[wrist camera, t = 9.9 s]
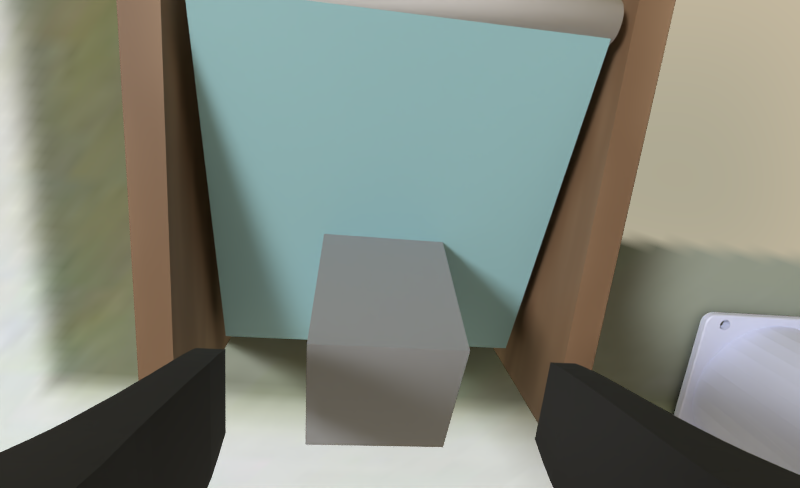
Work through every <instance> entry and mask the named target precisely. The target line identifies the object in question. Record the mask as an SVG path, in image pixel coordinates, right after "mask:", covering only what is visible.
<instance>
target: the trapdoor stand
mask: <svg viewBox="0 0 800 488" xmlns="http://www.w3.org/2000/svg"><path fill="white" fill-rule="evenodd" d="M675 1H676V0H622V2H623V5H624V16H623V21H622V24H621V27H620V30H619V32H618V34H617V36H616V38H615V39H614V41H613V42H612V43H611V44H610V45H609V46H608V49H607V52H606V55H605V58H604V61H603V64H602V67H601V70H600V73H599V76H598V79H597V81H596V84H595V87H594V90H593V93H592V96H591V99H590V102H589V105H588V108H587V111H586V114H585V117H584V120H583V123H582V126H581V128H580V131H579V134H578V137H577V140H576V143H575V146H574V149H573V152H572V155H571V158H570V161H569V164H568V167H567V170H566V173H565V175H564V178H563V181H562V184H561V187H560V190H559V193H558V196H557V199H556V202H555V205H554V208H553V211H552V214H551V217H550V220H549V223H548V225H547V228H546V231H545V234H544V237H543V240H542V243H541V246H540V249H539V252H538V255H537V258H536V261H535V264H534V267H533V270H532V272H531V275H530V278H529V281H528V284H527V287H526V290H525V293H524V296H523V299H522V302H521V305H520V308H519V311H518V314H517V317H516V320H515V322H514V325H513V328H512V331H511V334H510V337H509V340H508V343H507V346H506V348H493V349H494V350H495V352H496V354H497V355H498V357H499V359H500V360H501V362H502V364H503V365H504V367H505V369H506V370H507V372H508V374H509V375H510V377H511V379H512V380H513V382H514V384H515V385H516V387H517V389H518V390H519V392H520V394H521V395H522V397H523V399H524V400H525V402H526V404H527V406H528V407H529V409H530V411H531V412H532V414H533V416H534V417H535V419H536V421H537V422H539V417H540V412H541V407H542V402H543V397H544V392H545V387H546V382H547V377H548V372H549V367H550V362H552V363H576V364H578V365H581V366H583V367H586V368H588V369H590V370H592V368H593V363H594V359H595V354H596V350H597V346H598V341H599V337H600V332H601V328H602V324H603V319H604V315H605V310H606V306H607V301H608V297H609V293H610V288H611V284H612V279H613V275H614V271H615V266H616V262H617V257H618V253H619V248H620V244H621V240H622V235H623V231H624V226H625V222H626V218H627V213H628V208H629V204H630V200H631V195H632V191H633V187H634V182H635V178H636V173H637V169H638V165H639V160H640V156H641V151H642V147H643V142H644V138H645V133H646V129H647V125H648V120H649V116H650V111H651V107H652V103H653V98H654V94H655V89H656V85H657V81H658V76H659V72H660V67H661V63H662V58H663V54H664V50H665V45H666V40H667V36H668V32H669V28H670V23H671V19H672V14H673V10H674V6H675ZM117 17H118V34H119V51H120V69H121V86H122V103H123V120H124V137H125V154H126V171H127V189H128V206H129V223H130V240H131V257H132V274H133V292H134V309H135V326H136V343H137V360H138V377H139V380H141V379H143V378H144V377H146V376H148V375H149V374H151V373H153V372H154V371H156V370H158V369H159V368H161V367H163V366H164V365H166V364H168V363H169V362H171V361H173V360H174V359H176V358H178V357H179V356H181V355H183V354H185V353H186V352H188V351H190V350H192V349H194V348H207V349H224V348H225V347H226V345H227V343H228V342H229V340H230V338H231V336H226V333H225V325H224V316H223V308H222V300H221V292H220V283H219V275H218V267H217V258H216V250H215V242H214V233H213V225H212V217H211V208H210V200H209V192H208V183H207V175H206V167H205V159H204V150H203V142H202V134H201V125H200V117H199V109H198V100H197V92H196V84H195V75H194V67H193V59H192V51H191V42H190V34H189V26H188V17H187V9H186V1H185V0H117Z"/></svg>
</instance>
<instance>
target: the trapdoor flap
mask: <svg viewBox="0 0 800 488" xmlns="http://www.w3.org/2000/svg"><path fill="white" fill-rule="evenodd" d="M185 1H186V9H187V17H188V26H189V34H190V42H191V51H192V59H193V67H194V75H195V84H196V92H197V100H198V109H199V117H200V125H201V134H202V142H203V150H204V159H205V167H206V175H207V183H208V192H209V200H210V208H211V217H212V225H213V233H214V242H215V250H216V258H217V267H218V275H219V283H220V292H221V300H222V308H223V316H224V325H225V333H226V336H235V337H258V338H281V339H304V340H308V333H309V327H310V320H311V314H312V308H313V301H314V295H315V288H316V282H317V276H318V269H319V263H320V256H321V250H322V244H323V237H324V234H334V235H348V236H363V237H377V238H391V239H405V240H420V241H434V242H443V245H444V249H445V253H446V257H447V261H448V265H449V269H450V273H451V277H452V281H453V285H454V289H455V293H456V297H457V301H458V305H459V309H460V313H461V317H462V321H463V325H464V329H465V333H466V337H467V341H468V345H469V347H489V348H506V346H507V343H508V340H509V337H510V334H511V331H512V328H513V325H514V322H515V320H516V317H517V314H518V311H519V308H520V305H521V302H522V299H523V296H524V293H525V290H526V287H527V284H528V281H529V278H530V275H531V272H532V270H533V267H534V264H535V261H536V258H537V255H538V252H539V249H540V246H541V243H542V240H543V237H544V234H545V231H546V228H547V225H548V223H549V220H550V217H551V214H552V211H553V208H554V205H555V202H556V199H557V196H558V193H559V190H560V187H561V184H562V181H563V178H564V175H565V173H566V170H567V167H568V164H569V161H570V158H571V155H572V152H573V149H574V146H575V143H576V140H577V137H578V134H579V131H580V128H581V126H582V123H583V120H584V117H585V114H586V111H587V108H588V105H589V102H590V99H591V96H592V93H593V90H594V87H595V84H596V81H597V79H598V76H599V73H600V70H601V67H602V64H603V61H604V58H605V55H606V52H607V49H608V46H609V45H610V44H611V43H612V42H613V41H614V39H615V38H616V36H617V34H618V32H619V30H620V27H621V24H622V21H623V16H624V5H623V2H622V0H185Z"/></svg>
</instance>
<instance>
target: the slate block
mask: <svg viewBox="0 0 800 488" xmlns="http://www.w3.org/2000/svg"><path fill="white" fill-rule="evenodd" d="M469 353H470V349H469V345H468V341H467V337H466V333H465V329H464V325H463V321H462V317H461V313H460V309H459V305H458V301H457V297H456V293H455V289H454V285H453V281H452V277H451V273H450V269H449V265H448V261H447V257H446V253H445V249H444V245H443V242H434V241H420V240H405V239H391V238H377V237H363V236H348V235H334V234H324V237H323V244H322V250H321V256H320V263H319V269H318V276H317V282H316V288H315V295H314V301H313V308H312V314H311V320H310V327H309V333H308V340H307V371H306V444H309V445H364V446H419V447H443V445H444V441H445V438H446V434H447V431H448V427H449V423H450V420H451V416H452V413H453V409H454V406H455V402H456V399H457V395H458V392H459V388H460V385H461V381H462V378H463V374H464V371H465V367H466V364H467V360H468V356H469Z"/></svg>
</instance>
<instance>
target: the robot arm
mask: <svg viewBox="0 0 800 488" xmlns="http://www.w3.org/2000/svg"><path fill="white" fill-rule="evenodd" d="M722 321H724V322H723V324H722V325H721V326H720V324H721V322H722ZM224 436H225V349H207V348H194V349H192V350H190V351H188V352H186V353H185V354H183V355H181V356H179V357H178V358H176V359H174V360H173V361H171V362H169V363H168V364H166V365H164V366H163V367H161V368H159V369H158V370H156V371H154V372H153V373H151V374H149V375H148V376H146V377H144V378H143V379H141V380H139V381H138V382H136V383H134V384H133V385H131V386H129V387H128V388H126V389H124V390H122V391H121V392H119V393H117V394H116V395H114V396H112V397H110V398H108V399H106V400H105V401H103V402H101V403H99V404H97V405H95V406H93V407H92V408H90V409H88V410H86V411H84V412H82V413H81V414H79V415H77V416H75V417H73V418H71V419H70V420H68V421H66V422H64V423H62V424H60V425H58V426H56V427H54V428H52V429H50V430H48V431H46V432H44V433H42V434H40V435H38V436H35V437H33V438H31V439H29V440H27V441H25V442H22V443H20V444H18V445H16V446H14V447H11V448H9V449H7V450H5V451H3V452H0V488H207V487H208V485H209V482H210V480H211V478H212V475H213V471H214V468H215V465H216V462H217V459H218V456H219V453H220V449H221V446H222V443H223V439H224ZM535 440H536V443H537V446H538V449H539V452H540V455H541V458H542V460H543V463H544V466H545V468H546V471H547V474H548V476H549V479H550V481H551V483H552V485H553V487H554V488H800V317H795V316H777V315H759V314H741V313H723V312H709V313H707V314H705V315H704V316H703V317H702V319H701V321H700V325H699V328H698V332H697V335H696V339H695V342H694V346H693V349H692V353H691V356H690V360H689V363H688V367H687V370H686V374H685V377H684V381H683V384H682V388H681V391H680V395H679V398H678V402H677V405H676V409H675V412H674V415H672V414H671V413H669V412H667V411H665V410H663V409H661V408H660V407H658V406H656V405H654V404H652V403H651V402H649V401H647V400H645V399H643V398H642V397H640V396H638V395H636V394H634V393H633V392H631V391H629V390H627V389H625V388H624V387H622V386H620V385H618V384H616V383H615V382H613V381H611V380H609V379H607V378H605V377H604V376H602V375H600V374H598V373H596V372H594V371H592V370H590V369H588V368H586V367H583V366H581V365H578V364H576V363H552V362H550V367H549V372H548V377H547V382H546V387H545V392H544V397H543V402H542V407H541V412H540V417H539V422H538V427H537V432H536V437H535Z"/></svg>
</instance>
